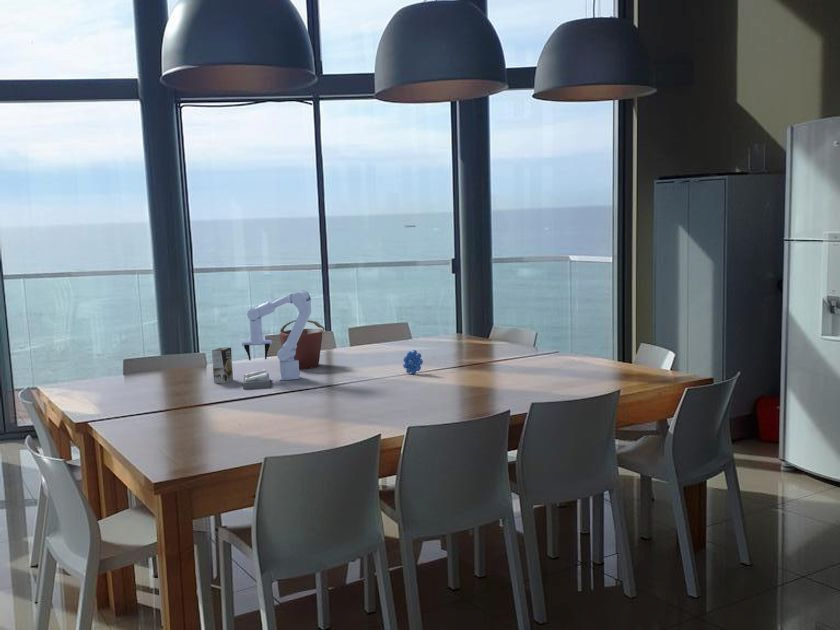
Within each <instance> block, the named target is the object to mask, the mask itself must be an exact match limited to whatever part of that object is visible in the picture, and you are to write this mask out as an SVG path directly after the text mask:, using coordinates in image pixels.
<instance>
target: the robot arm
mask: <svg viewBox="0 0 840 630" xmlns="http://www.w3.org/2000/svg"><path fill="white" fill-rule="evenodd" d="M311 301H312V297H311V296H310V294H309V292H308V291H306V290H301V291H296V292H293V293H289V294H286V295H285V296H282V297H280V298H278V299H276V300H274V301H273V302H272V301H270V300H265V301H263V303H262V304H260V305H255V307H254V308H253V307H251V308H250V309H249V310H248V311H247V314H246V315H247V318H248V319H249V331H250V340H247V341H241V347H244V348H243V349H244V350H245V352H246V354H247V356H248V361H251V360H252V359H251V348H250V347H251V346H263V345H264V360H267V356H268V352H269V348H270V346H271V345H272V344H273V341H272V339H263V323H262V318H263V317H265V316H268V315H270V314H272V313H274V312H275V311H276V309H277V308H278V307H281V306H283V305H285V304H293V305H294V307H296V309H297V311H298V314H297V317H296V319H295V320H296V321H295V322H294V324H293V326H292V328H291V329H290V330H291V332H290V334H289V336H288V339H287V341H286V342H285V343H284V345H283V346H282V345H281V348H280V349H279V350H278V351H277V352H276V353H277V354H276V356H277V358H278V360H279V373H280V375H279V381H287V380H289V381H290V380H301V378H300V375H301V372H300V369H299V361H298V360H294V356H295V354H296V348H297V342H298V340H299V338H300V336H301V333H302V331H303V329H305V326H307V325H306V324H307V323H308V322H307V321H308V320H309V318H310V316H311V314H312V305H311Z"/></svg>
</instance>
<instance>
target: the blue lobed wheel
mask: <svg viewBox="0 0 840 630" xmlns="http://www.w3.org/2000/svg"><path fill="white" fill-rule="evenodd" d="M402 359H403V364H402V367H403V369H406V370H405V373H407V374H412V375H415V374H417V372H420V371H421V369H422V365H423V364H424V363H423V362H424V360H423V359H422V353H419V352H418V351H417V350H416V349H415V350H414V349H413V350H412V351H407V352H406V356H404V357H403V358H402Z"/></svg>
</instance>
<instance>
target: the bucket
mask: <svg viewBox="0 0 840 630" xmlns="http://www.w3.org/2000/svg"><path fill="white" fill-rule="evenodd" d="M295 321H296V319H294V320H292V321H288V322H287V323H285V324H283V326H282V327H281V328H280V330H279V340H280V344H281V347H282V346H283V345H284V343H285V342H286V341H287V339H288V336H289V334H290V332H291V330H292V329H287V330H285V329H286V328H287V327H288V326H289V325H291V324H293V323H295ZM307 323H311V324H314V325H315V326H316V327H317V328H304V329H303V331H302V333H301V336H300V338H299V340H298V342H297V348H296V354H295V356H294V360H298V361H299V370H308V369H314V368H319V366H320V358H321V351H322V350H321V348H322V341H323V333H324V331H325V326H323V325H322V324H321V323H319V322H318V321H315V320H312V319H311V320H310V319H308V321H307ZM318 328H319V329H318Z"/></svg>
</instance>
